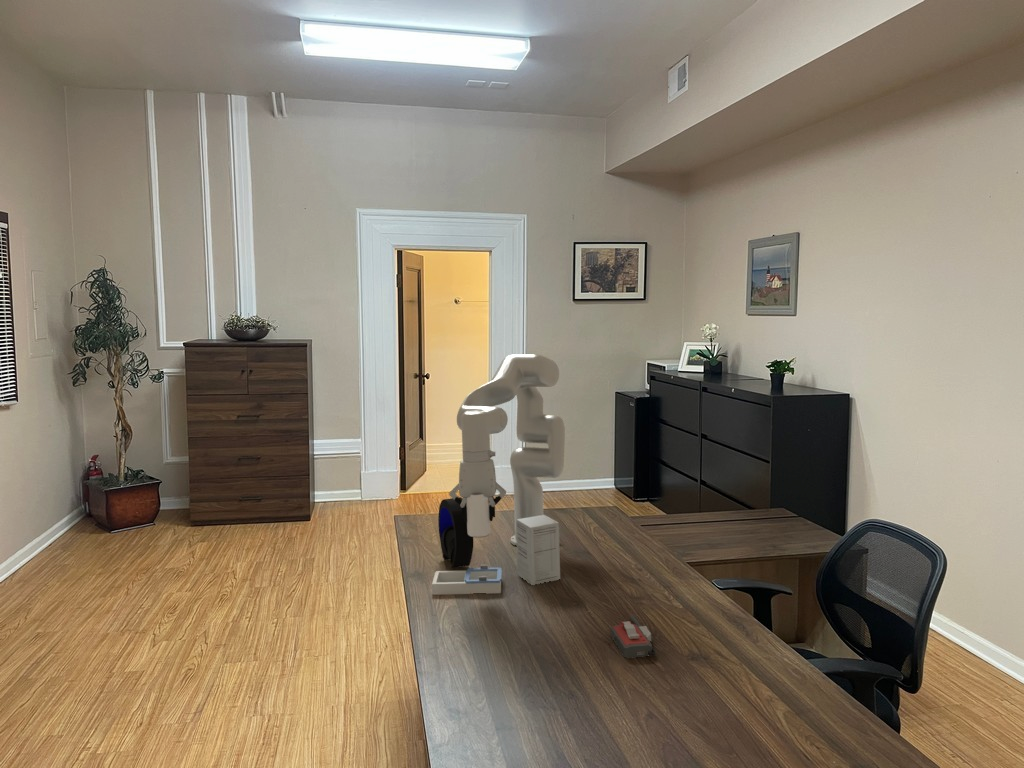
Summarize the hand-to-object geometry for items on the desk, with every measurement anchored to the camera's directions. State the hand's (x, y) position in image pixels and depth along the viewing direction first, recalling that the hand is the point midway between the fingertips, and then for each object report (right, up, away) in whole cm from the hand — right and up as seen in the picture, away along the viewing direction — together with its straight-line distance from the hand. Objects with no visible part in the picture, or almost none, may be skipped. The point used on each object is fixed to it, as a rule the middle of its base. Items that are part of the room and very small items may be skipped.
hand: (478, 519), depth 197 cm
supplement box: (+17, -18, +8) cm, 26 cm away
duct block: (-3, -19, +2) cm, 19 cm away
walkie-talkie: (+37, -22, -32) cm, 53 cm away
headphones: (-8, -18, +21) cm, 28 cm away
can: (0, -4, 0) cm, 4 cm away
